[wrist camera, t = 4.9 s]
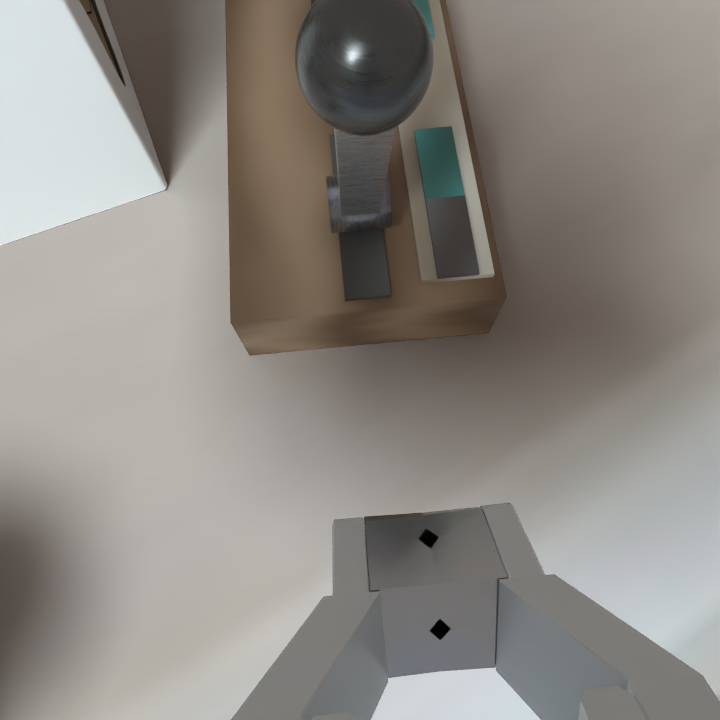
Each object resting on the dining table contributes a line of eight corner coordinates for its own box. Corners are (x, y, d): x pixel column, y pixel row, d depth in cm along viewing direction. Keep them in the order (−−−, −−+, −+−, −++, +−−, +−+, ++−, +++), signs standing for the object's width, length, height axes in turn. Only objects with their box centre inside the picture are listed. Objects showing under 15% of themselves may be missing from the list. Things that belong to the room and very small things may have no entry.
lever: (326, 247, 26) (295, 104, 11) (320, 178, 26) (280, -52, 11) (396, 241, 26) (451, 90, 11) (389, 171, 26) (435, -66, 11)
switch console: (249, 355, 28) (227, 317, 24) (239, 15, 36) (222, -59, 32) (488, 332, 28) (509, 290, 24) (425, -1, 36) (432, -77, 32)
